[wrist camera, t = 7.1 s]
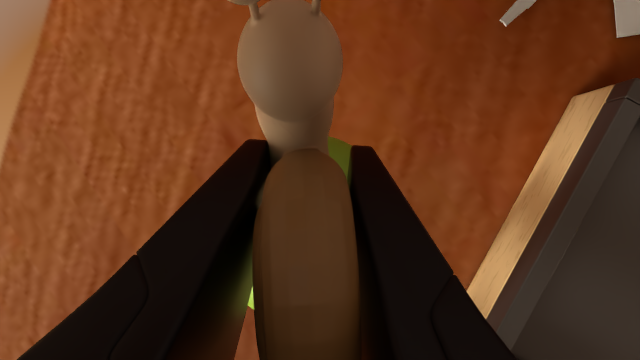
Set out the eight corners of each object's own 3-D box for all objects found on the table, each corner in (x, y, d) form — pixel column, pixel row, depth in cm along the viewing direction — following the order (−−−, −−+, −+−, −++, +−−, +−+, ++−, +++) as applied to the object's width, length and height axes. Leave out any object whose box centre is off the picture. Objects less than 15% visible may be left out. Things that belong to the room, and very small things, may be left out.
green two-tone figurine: (372, 105, 16) (610, -107, 4) (387, 284, 16) (663, 655, 4) (218, 118, 15) (-79, -59, 3) (235, 300, 16) (15, 747, 4)
